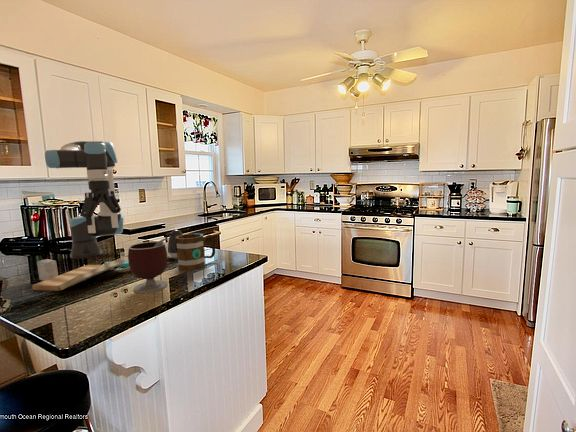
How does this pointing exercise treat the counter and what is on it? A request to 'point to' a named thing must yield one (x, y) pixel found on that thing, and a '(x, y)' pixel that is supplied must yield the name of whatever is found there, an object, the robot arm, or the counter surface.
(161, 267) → the mate gourd
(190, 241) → the mug
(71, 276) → the oak board
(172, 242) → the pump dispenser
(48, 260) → the medicine box
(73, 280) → the ash plank
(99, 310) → the counter surface
